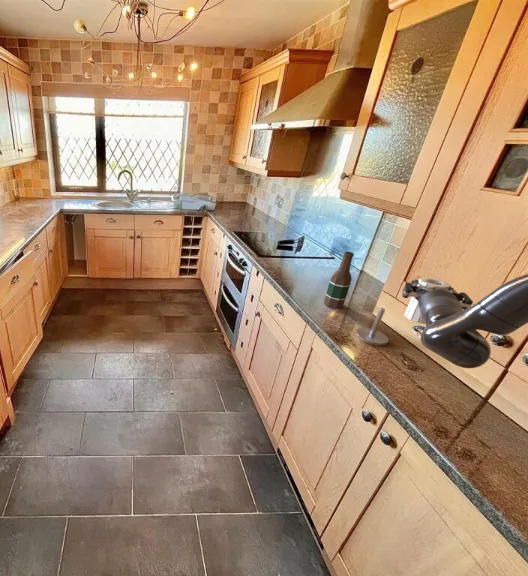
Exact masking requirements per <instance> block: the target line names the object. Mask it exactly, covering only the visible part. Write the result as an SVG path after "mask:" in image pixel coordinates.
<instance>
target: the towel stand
mask: <svg viewBox="0 0 528 576" xmlns="http://www.w3.org/2000/svg"><path fill="white" fill-rule="evenodd" d="M385 312H386V309H385V308H383V307H379V309H378V311H377V314H376V317H375V319H374V322H373V324H372V327H371V328H369V327H360V328H357V329H356V331H355V336H356V338H357V339H358V340H359V341H361V342H362V343H365V344H367V345H370V346H375V347H384V346H386V345H387V344H388V343H389V337H388V336H387V335H386V334H384V333H383V332H382V331H380V330H379V327H380V324H381V322H382V319H383V316H384V314H385Z"/></svg>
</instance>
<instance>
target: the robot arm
mask: <svg viewBox="0 0 528 576" xmlns="http://www.w3.org/2000/svg"><path fill="white" fill-rule="evenodd" d="M401 297H402V298H404V299H408V298H410V297H411V298H412V297H415V299H416V300H418V305H419V308H420V313H421V315H422V318H423V320H424V321H425V324H424V325H425V328H424V329H423V331H422V332H421V335H420V342H421V344H422V346H424V347H425V348H426V349H428V350H430V351H431V352H433V353H434V354H436V355H438V356H440V358H443V359H444V360H446V361H448V362H449V363H451V364H453V365H455V366H457V367H459V368H462V369H463V368H464V369H477V368H479V367H482V366H484V365H485V364H486V363H487V362H488V361H489V359H490V357H491V355H492V350H491V345H490V344H489V341H488V340H487V339H486V338H485V336H483V334H481V332H479V331H483V332H487V333H490V334H493V335H497V336H508V335H510V334H512V333H514V332H515V331H518V330H519V329H520V328H522V327H523V326H525V325H527V324H528V273H526V274H523V275H520V276H517V277H515V278H512V279H510V280H508V281H506V282H505V283H502V284H501V285H499V286H498V287H496V288H495V289H493V290H492V291H491V292H490V293H488V294H487V295H485V296H484V297H482V298H481V299H479V301H477V302H476V303H474V301H473V299H471V298H470V296H469V295H468V294H467V293H466V292H458V291H457V290H455V289H454V288H453V287H452V286H451V285H450V287H449V289H448V290H447V291H444V290H432V289H429V288H427V287H426V286H421V285H419V279H414V280H411V281H410V282H405V283H404V287H403V289H402V294H401ZM473 303H474V304H473Z"/></svg>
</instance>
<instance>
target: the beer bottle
mask: <svg viewBox="0 0 528 576" xmlns="http://www.w3.org/2000/svg"><path fill="white" fill-rule="evenodd" d="M354 256H355V254H354V252H352V251H344V252H343V254H342V260H341V262H340V264H339V267H338V269H337V270H336V271H334V272H333V274H332V275H331V277H330V279H329V283H328V286H327V290H326V293H325V297H324V300H323V304H324V305H325V306H326V307H327V308H330V309H334V310H340V309H341V310H342V309H343V307H344V304H345V302H346V299H347V296H348V294H349V291H350V287H351V284H352V279H353V278H352V274H351V272H350V269H351V265H352V261H353V257H354Z"/></svg>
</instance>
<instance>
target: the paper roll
mask: <svg viewBox="0 0 528 576" xmlns="http://www.w3.org/2000/svg"><path fill="white" fill-rule="evenodd" d="M418 281H419V285H421V286H426V287H427V288H429V289H432V290H444V291H447V290H448V289H449V287H450V286H451V284H450V283H449V282H447V281H444V280H441V279H440V278H439V279H438V278H434V277H427V276H426V277H425V276H424V277H420V278H419V279H418ZM404 317H405V318H406V319H408V320H409V321H412V322H414V323H418V324H422V325H426V324H425V321H424V320H423V318H422V315H421V313H420V308H419V305H418V300H416V299H415V297H411V298H410V301H409V303H408V305H407V307H406V310H405V312H404Z"/></svg>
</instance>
